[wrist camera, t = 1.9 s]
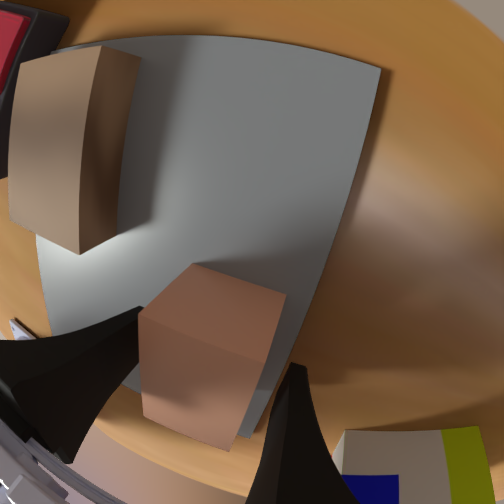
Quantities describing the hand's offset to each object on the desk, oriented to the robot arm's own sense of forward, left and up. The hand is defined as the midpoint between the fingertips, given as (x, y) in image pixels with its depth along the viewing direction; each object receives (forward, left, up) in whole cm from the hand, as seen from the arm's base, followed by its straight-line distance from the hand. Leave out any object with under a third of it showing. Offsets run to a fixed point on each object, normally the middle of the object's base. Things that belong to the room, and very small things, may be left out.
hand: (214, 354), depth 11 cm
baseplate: (+2, +5, -2) cm, 6 cm away
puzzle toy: (-9, -14, -2) cm, 17 cm away
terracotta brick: (0, 0, -1) cm, 1 cm away
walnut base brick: (+7, +9, -1) cm, 11 cm away
